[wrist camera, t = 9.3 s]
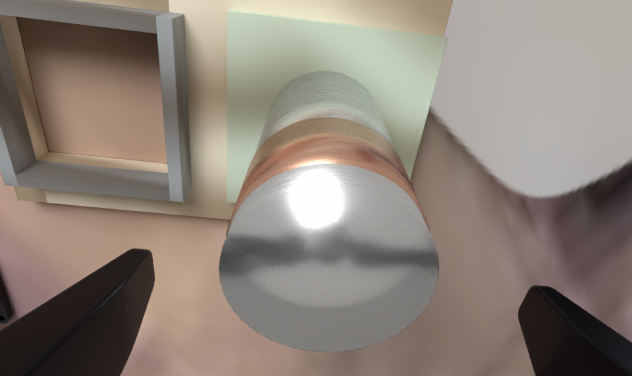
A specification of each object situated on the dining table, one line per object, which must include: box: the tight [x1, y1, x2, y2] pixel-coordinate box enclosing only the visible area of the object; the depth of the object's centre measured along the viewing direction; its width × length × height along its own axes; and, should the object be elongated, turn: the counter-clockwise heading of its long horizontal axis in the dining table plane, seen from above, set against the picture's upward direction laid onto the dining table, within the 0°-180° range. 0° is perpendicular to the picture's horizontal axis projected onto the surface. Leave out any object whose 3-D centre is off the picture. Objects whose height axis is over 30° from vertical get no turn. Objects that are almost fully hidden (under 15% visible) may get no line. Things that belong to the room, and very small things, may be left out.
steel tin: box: [219, 71, 439, 352], centre depth 14 cm, size 5×5×10 cm
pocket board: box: [0, 0, 453, 220], centre depth 18 cm, size 12×20×3 cm, turn 83°
